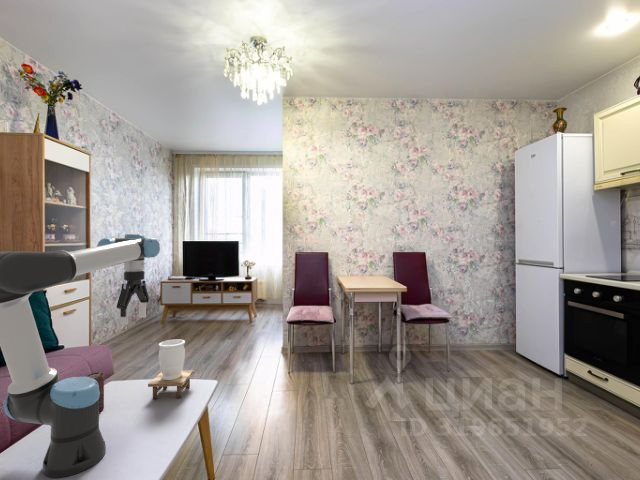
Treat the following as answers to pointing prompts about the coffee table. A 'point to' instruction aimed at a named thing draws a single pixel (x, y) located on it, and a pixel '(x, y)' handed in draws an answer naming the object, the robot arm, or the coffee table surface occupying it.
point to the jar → (171, 358)
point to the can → (100, 379)
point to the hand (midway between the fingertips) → (133, 321)
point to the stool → (171, 383)
